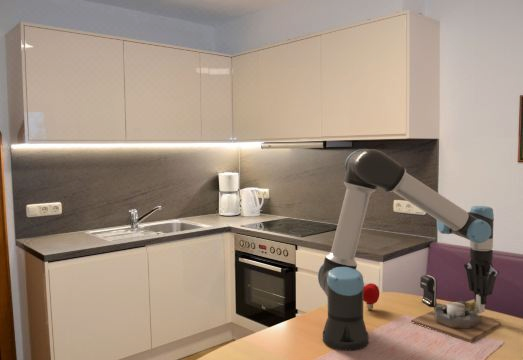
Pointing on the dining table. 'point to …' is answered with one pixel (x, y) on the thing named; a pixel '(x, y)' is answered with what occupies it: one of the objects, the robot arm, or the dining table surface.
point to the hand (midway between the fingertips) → (480, 311)
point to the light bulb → (370, 295)
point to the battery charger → (429, 290)
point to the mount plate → (461, 333)
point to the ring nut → (458, 322)
